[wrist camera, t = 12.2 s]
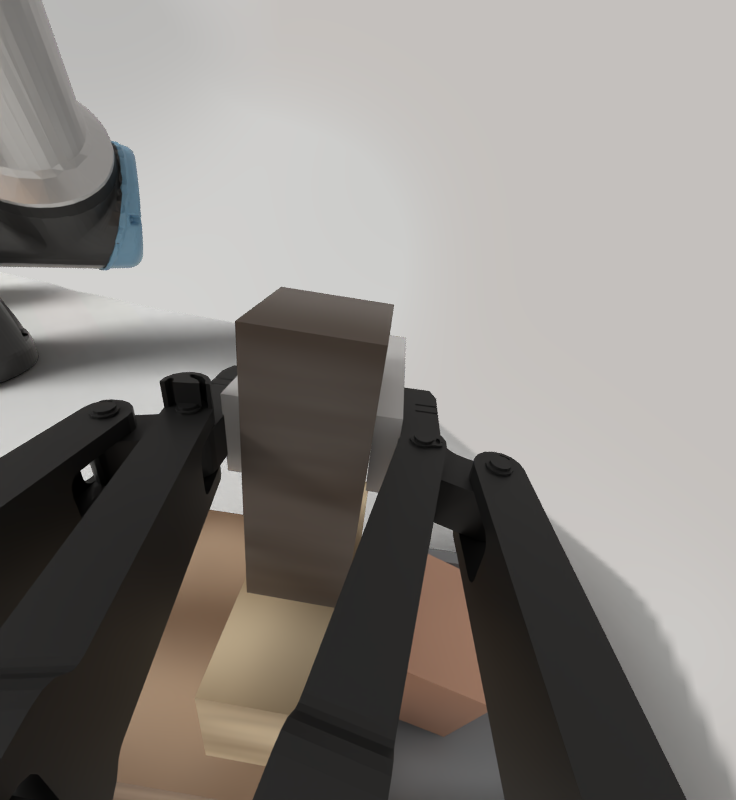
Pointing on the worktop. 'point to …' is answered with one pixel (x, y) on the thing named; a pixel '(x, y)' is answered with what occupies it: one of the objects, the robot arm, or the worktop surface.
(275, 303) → the dark wooden pillar
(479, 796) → the tray
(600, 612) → the worktop surface
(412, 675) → the terracotta brick
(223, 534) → the board
